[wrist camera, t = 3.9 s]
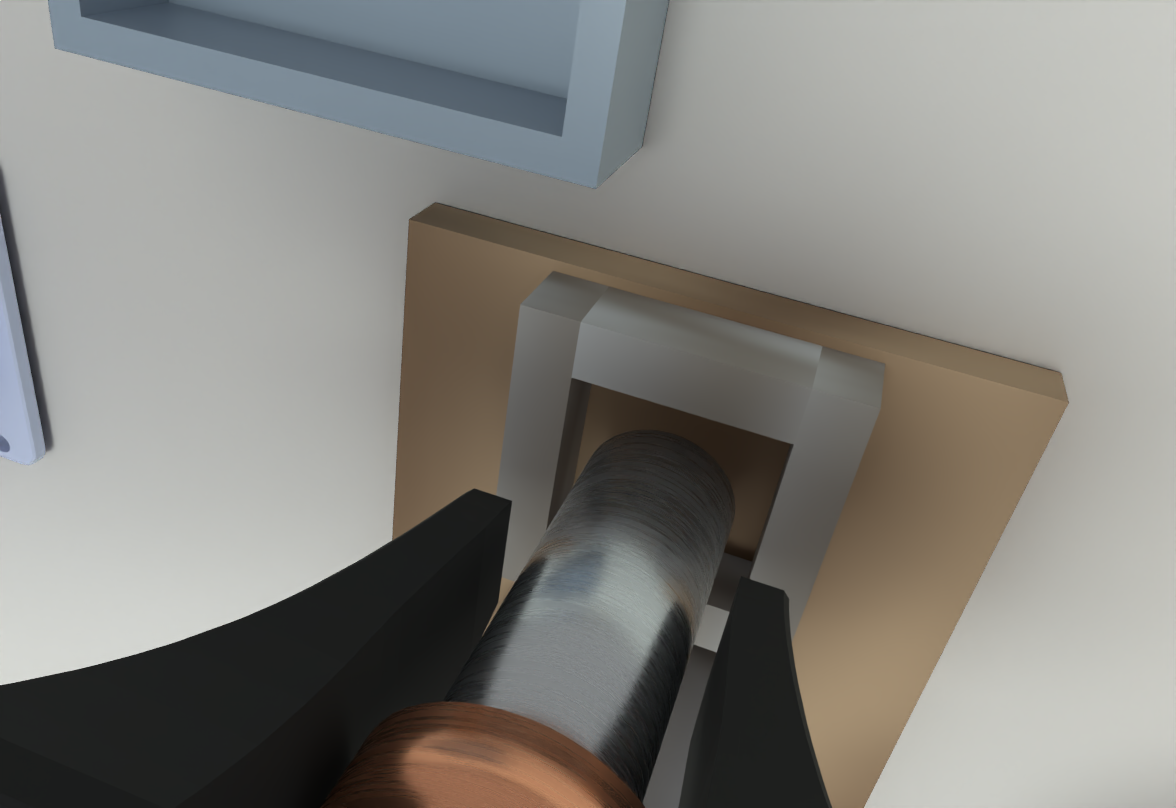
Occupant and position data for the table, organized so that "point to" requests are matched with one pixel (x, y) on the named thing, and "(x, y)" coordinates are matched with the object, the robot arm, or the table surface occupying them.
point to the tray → (410, 67)
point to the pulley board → (727, 452)
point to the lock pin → (571, 650)
